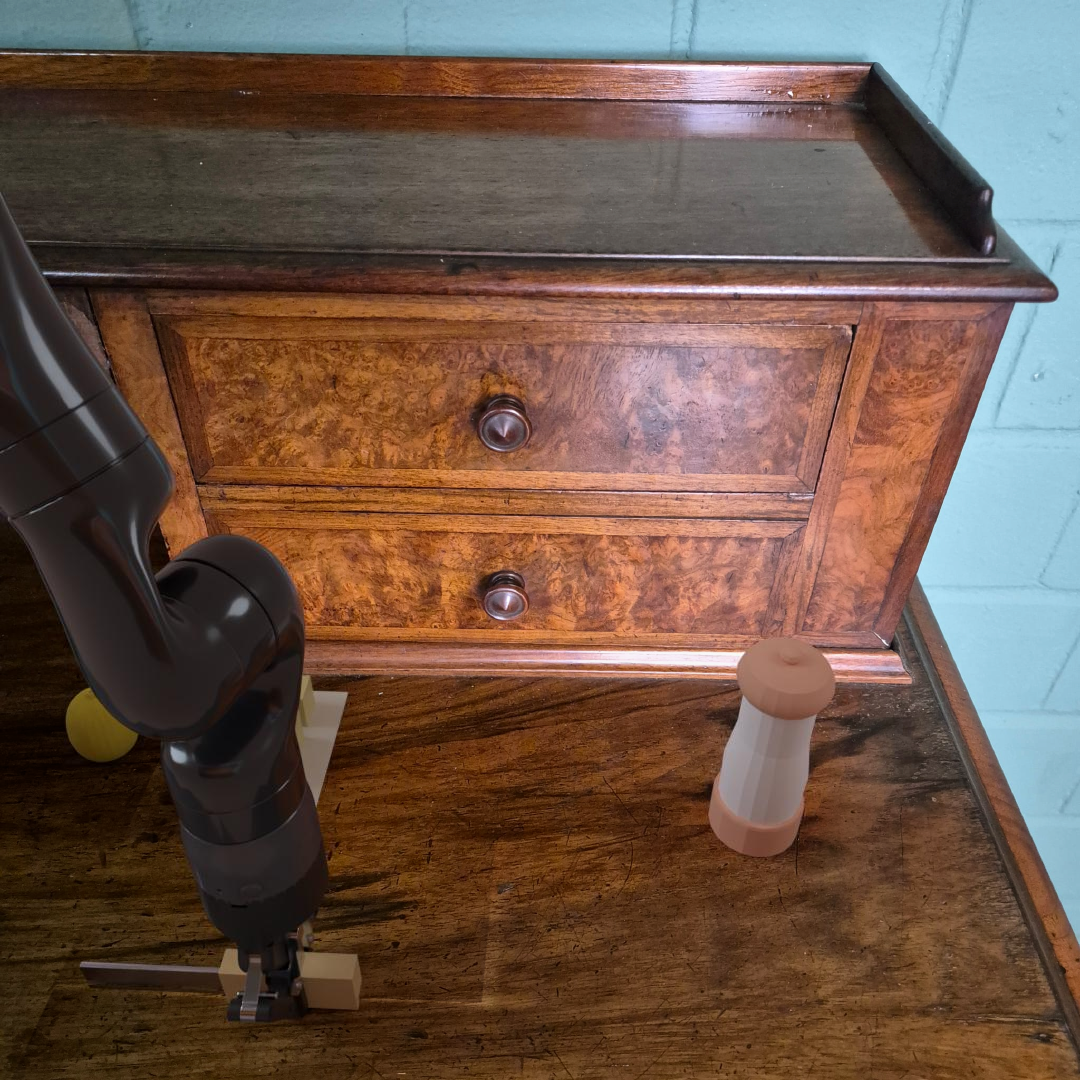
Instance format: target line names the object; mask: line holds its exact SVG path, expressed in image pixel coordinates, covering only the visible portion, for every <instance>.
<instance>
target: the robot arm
mask: <svg viewBox="0 0 1080 1080" xmlns="http://www.w3.org/2000/svg"><path fill="white" fill-rule="evenodd" d="M177 484H178V483H177V477H176V474H175V471H174V469H173V467H172V465H171V463H170V462H169V460H168V458H167V457H166V455H165V453H164V451H162V448H161V447H160V446H159V444H158V443H157V442H156V440H155V439H154V437H153V436H152V435H151V434H149V430H148V429H147V427H146V425H145V424H144V423H143V421H142V420H141V418H140V417H139V416H138V415H137V413H136V411H135V410H134V409H133V407H132V405H130V403H129V402H128V400H127V399H126V397H125V396H124V394H123V392H122V391H121V390H120V388H119V387H118V386H117V384H116V383H114V380H113V378H112V377H111V376H110V374H109V373H108V371H107V370H106V369H105V367H104V366H103V364H102V363H101V361H100V360H99V359H98V357H97V356H96V354H95V353H94V352H93V351H92V349H91V348H90V346H89V345H88V343H87V342H86V340H85V339H84V337H83V336H82V334H81V333H80V331H79V330H78V328H77V326H76V325H75V324H74V322H73V320H72V319H71V317H70V316H69V314H68V312H67V311H66V310H65V308H64V307H63V305H62V303H61V301H60V300H59V298H58V297H57V295H56V293H55V292H54V289H53V288H52V286H51V285H50V283H49V281H48V280H47V277H46V276H45V273H44V272H43V270H42V269H41V266H40V265H39V263H38V261H37V260H36V257H35V255H34V253H33V252H32V250H31V248H30V246H29V243H28V242H27V241H26V238H25V237H24V235H23V233H22V231H21V228H20V227H19V224H18V223H17V221H16V220H15V217H14V215H13V214H12V210H11V209H10V207H9V205H8V203H7V201H6V199H5V197H4V194H3V192H2V191H1V189H0V512H1V514H2V515H3V516H4V517H6V518H7V521H8V522H9V524H10V525H11V527H13V529H14V530H15V531H16V533H18V535H19V536H20V538H21V539H22V540H23V541H24V543H25V545H26V547H27V548H28V551H29V553H30V555H31V557H32V559H33V562H34V563H35V565H36V567H37V570H38V573H39V575H40V578H41V579H42V582H43V585H44V586H45V588H46V590H47V593H48V594H49V597H50V600H51V601H52V603H53V606H54V608H55V610H56V612H57V615H58V618H59V620H60V622H61V625H62V627H63V630H64V632H65V635H66V638H67V640H68V643H69V645H70V648H71V650H72V653H73V656H74V658H75V661H76V663H77V666H78V668H79V669H80V672H81V674H82V676H83V677H84V680H85V682H86V684H87V685H88V688H90V689H91V690H92V692H93V693H94V695H95V697H96V698H97V699H98V701H99V702H100V703H101V704H102V705H103V707H104V708H105V709H106V710H107V711H108V712H109V713H110V714H111V715H112V716H113V717H114V718H115V719H116V720H117V721H119V722H120V723H121V724H122V725H124V726H125V727H127V728H128V729H130V730H132V731H133V732H135V733H137V734H138V736H142V737H145V738H147V739H150V740H154V741H157V742H160V763H161V768H162V771H163V772H162V773H163V775H164V778H165V782H166V785H167V788H168V792H169V795H170V797H171V800H172V803H173V807H174V809H175V812H176V815H177V817H178V821H179V832H180V839H181V843H182V847H183V850H184V853H185V856H186V859H187V862H188V865H189V867H190V870H191V873H192V876H193V879H194V883H195V885H196V888H197V891H198V894H199V898H200V900H201V903H202V906H203V909H204V912H205V914H206V917H207V918H208V920H209V921H210V923H211V924H212V925H213V927H214V928H215V929H216V930H218V931H219V932H220V933H221V934H223V935H224V936H226V937H227V938H228V939H230V940H231V941H232V942H233V943H235V944H236V947H237V948H236V949H237V950H238V965H239V967H240V969H241V970H242V971H243V972H244V973H247V974H246V981H245V988H244V990H238V992H237V998H233V999H231V1001H230V1003H228V1006H227V1009H226V1015H227V1017H226V1018H227V1021H228V1022H238V1023H239V1022H241V1023H260V1024H261V1023H262V1024H263V1023H264V1024H271V1023H275V1022H279V1021H284V1020H293V1021H295V1020H296V1021H298V1020H299V1019H300V1018H304V1017H306V1016H307V1013H308V1009H309V1008H308V1001H307V997H306V993H305V989H304V985H303V981H302V977H301V971H302V968H303V964H304V960H305V954H304V952H313V950H312V945H313V943H314V941H315V934H314V929H313V927H314V923H315V920H316V918H317V915H318V913H319V911H320V905H321V903H322V902H323V900H324V897H325V896H326V894H327V893H326V892H327V889H328V887H329V879H330V878H329V877H330V871H329V864H328V859H327V853H326V849H325V844H324V840H323V834H322V830H321V824H320V820H319V815H318V814H319V813H318V810H317V807H316V804H315V800H314V796H313V794H312V791H311V788H310V786H309V784H308V782H307V779H306V776H305V772H304V767H303V762H302V757H301V752H300V747H299V743H298V739H297V735H296V731H295V726H296V719H297V713H298V708H299V703H300V696H301V685H302V675H304V674H303V673H304V663H305V652H306V620H305V619H306V617H305V611H304V607H303V602H302V598H301V594H300V592H299V590H298V587H297V585H296V583H295V580H294V579H293V577H292V575H291V573H290V572H289V570H288V569H287V567H286V566H285V565H284V563H283V562H282V561H281V560H280V559H279V558H278V557H277V555H275V553H274V552H272V551H271V550H270V549H268V547H266V546H264V545H263V544H261V543H260V542H258V541H257V540H254V539H252V538H250V537H247V536H245V535H244V536H243V535H239V534H234V533H218V534H212V535H209V536H206V537H202V538H200V539H199V540H196V541H195V542H194V543H191V544H190V545H188V546H187V547H185V548H184V549H183V550H182V551H180V553H178V554H177V555H176V556H174V557H173V559H171V560H170V561H169V562H168V563H167V564H166V565H165V566H163V567H162V568H161V569H160V570H159V571H158V572H156V573H155V574H154V569H153V566H152V562H151V559H150V553H149V543H150V541H151V537H152V533H153V532H154V529H155V528H156V526H157V524H158V522H159V521H160V520H161V518H162V516H163V515H164V513H165V511H167V509H168V507H169V505H170V504H171V502H172V500H173V498H174V496H175V493H176V490H177Z"/></svg>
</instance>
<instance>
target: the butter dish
mask: <svg viewBox="0 0 1080 1080" xmlns="http://www.w3.org/2000/svg"><path fill="white" fill-rule="evenodd" d="M313 694H314V699H315V704H314V708H313V711H312V714H311V717H310V720H309V724H308V726H302V729H303V734H304V739H303V743H302V746H301V749H300V752H301V757H302V762H303V767H304V772H305V776H306V779H307V782H308V784H309V786H310V788H311V791H312V794H313V796H314V800H315V804H316V808H317V807H318V803H319V800H320V795H321V792H322V789H323V784H324V781H325V777H326V774H327V770H328V767H329V763H330V760H331V757H332V753H333V749H334V745H335V741H336V738H337V734H338V731H339V727H340V725H341V720H342V717H343V713H344V709H345V706H346V703H347V698H348V695H349V692H348V691H331V690H330V691H329V690H327V691H326V690H313Z"/></svg>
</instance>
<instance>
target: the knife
mask: <svg viewBox="0 0 1080 1080" xmlns="http://www.w3.org/2000/svg"><path fill="white" fill-rule="evenodd" d="M304 954H305V960H304V964H303V968H302V971H301V977H302V981H303V985H304V989H305V993H306V997H307V1001H308V1009H330V1010H331V1009H332V1010H352V1011H358V1010H359V1008H360V1002H361V996H360V992H361V987H362V982H363V978H362V973H361V972H362V971H361V968H360V967H361V966H360V963H359V955H358V954H357V953H334V952H316V951H315V952H314V951H312V952H304ZM221 960H222V961H221V964H220V966H219V967H216V966H215V967H214V966H193V965H172V964H171V965H169V964H146V963H142V964H141V963H123V962H104V961H103V962H102V961H101V962H99V961H81V962H80V963H79V969H80V971H81V973H82V974H83V977H84V979H85V981H86V983H88V987H89V988H90V989H103V990H123V991H124V990H125V991H126V990H128V991H129V990H130V991H146V992H147V991H151V992H169V993H170V992H172V993H174V992H175V993H195V994H196V993H197V994H217V995H225V997H226V999H227V1002H228V1003H227V1004H229V1003H230V1001H231V999H233V998H237V992H238V990H244V988H245V981H246V974H247V973H244V972H243V971H242V970H241V969H240V967H239V965H238V950H237V948H226V949H225V951H224V954H223V957H222V959H221ZM104 984H105V985H104ZM107 984H109V985H107ZM111 984H112V985H111ZM125 985H126V986H125ZM127 985H129V986H127ZM130 985H131V986H130ZM132 985H133V986H132ZM147 986H149V987H147ZM150 986H152V987H150ZM153 986H157V987H153ZM170 987H171V988H170ZM172 987H175V988H172ZM176 987H177V988H176ZM191 988H197V989H191ZM198 988H200V989H198ZM215 989H223V990H215Z"/></svg>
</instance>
